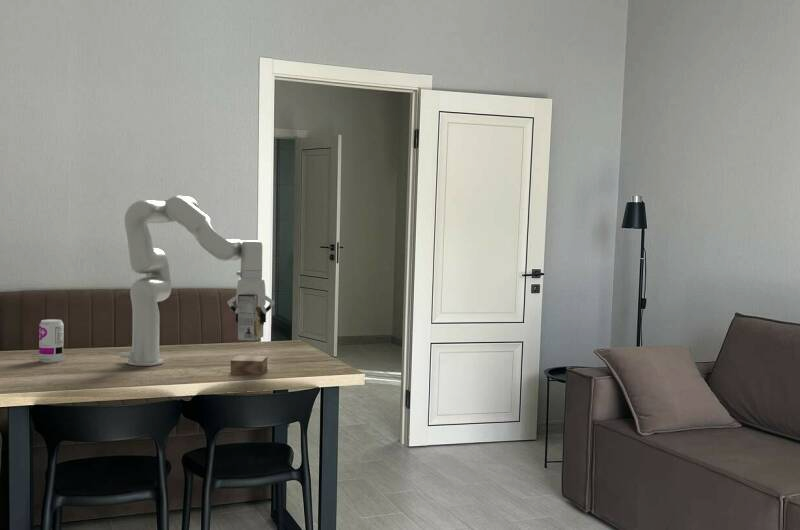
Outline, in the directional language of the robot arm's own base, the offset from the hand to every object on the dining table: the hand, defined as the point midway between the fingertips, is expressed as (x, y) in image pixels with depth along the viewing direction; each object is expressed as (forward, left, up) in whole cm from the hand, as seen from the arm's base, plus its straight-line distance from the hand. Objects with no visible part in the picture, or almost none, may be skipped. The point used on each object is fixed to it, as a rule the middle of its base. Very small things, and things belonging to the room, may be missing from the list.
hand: (250, 324), depth 289 cm
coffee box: (0, 0, -5) cm, 5 cm away
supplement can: (-72, +19, -17) cm, 77 cm away
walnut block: (0, 0, -17) cm, 17 cm away
